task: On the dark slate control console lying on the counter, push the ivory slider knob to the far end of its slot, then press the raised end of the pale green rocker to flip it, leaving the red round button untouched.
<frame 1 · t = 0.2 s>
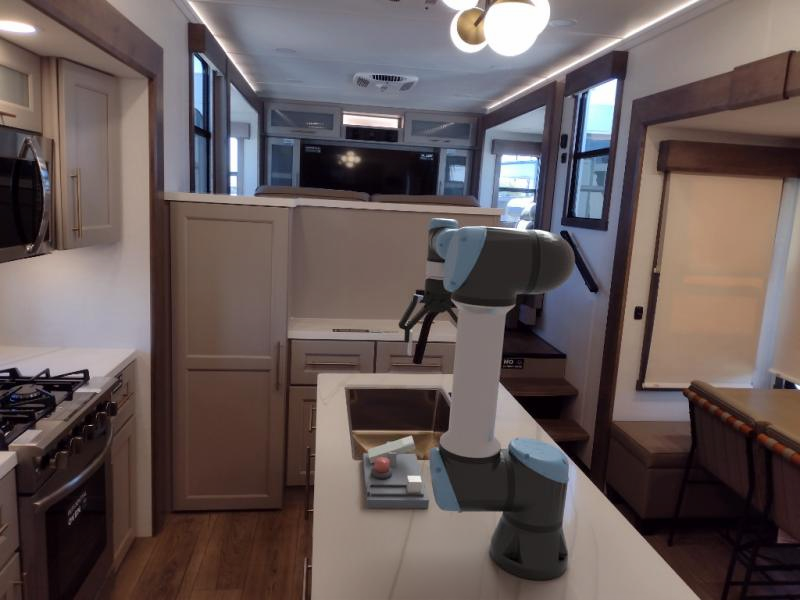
hand: (434, 355, 157), 28 cm above the worktop, fingers open, 13 cm apart
beverage can: (458, 465, 154), on the worktop
button: (381, 465, 141), point 5 cm above the worktop, slide at 0.0 cm
console: (393, 482, 142), on the worktop
slider knob: (414, 484, 134), point 4 cm above the worktop, slide at 0.0 cm
rocker: (391, 449, 149), point 5 cm above the worktop, hinge at -20.0°
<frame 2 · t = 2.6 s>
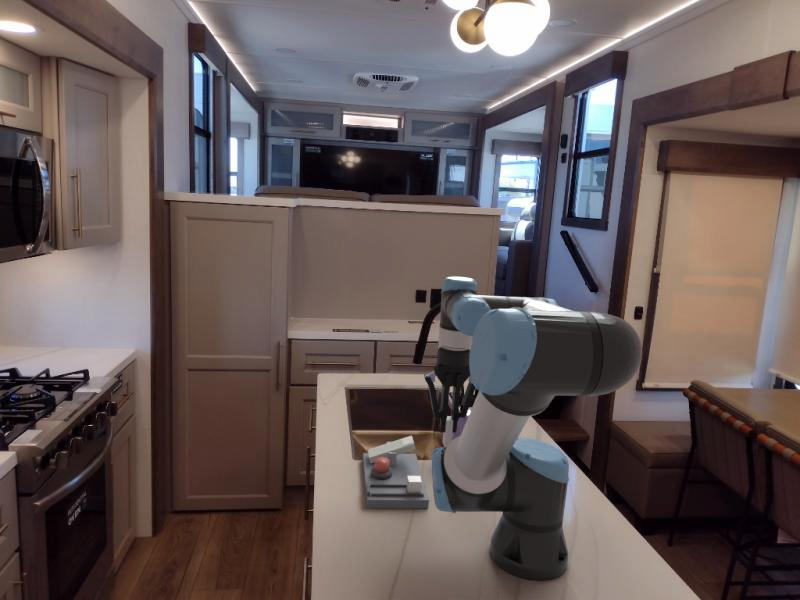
hand: (446, 444, 134), 13 cm above the worktop, fingers closed
nothing on the worktop moved.
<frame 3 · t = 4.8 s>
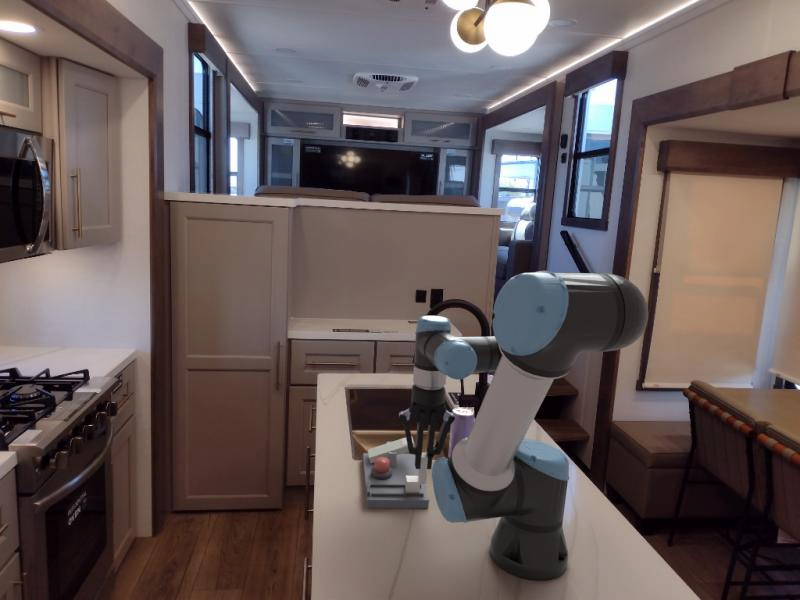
hand: (422, 481, 135), 4 cm above the worktop, fingers closed
slider knob: (412, 484, 134), point 4 cm above the worktop, slide at 0.4 cm, touching gripper
everything else where it was.
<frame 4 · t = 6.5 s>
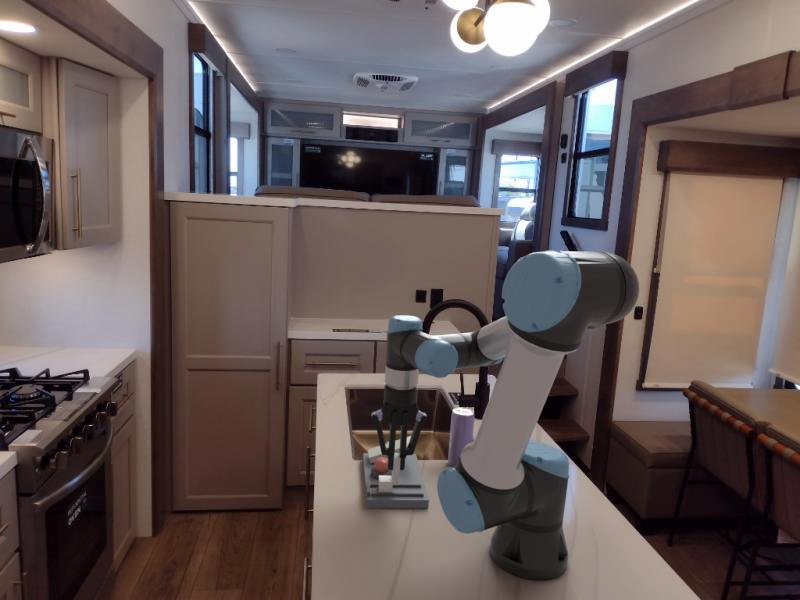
hand: (395, 482, 134), 4 cm above the worktop, fingers closed
slider knob: (385, 484, 134), point 4 cm above the worktop, slide at 6.7 cm, touching gripper
everything else where it was.
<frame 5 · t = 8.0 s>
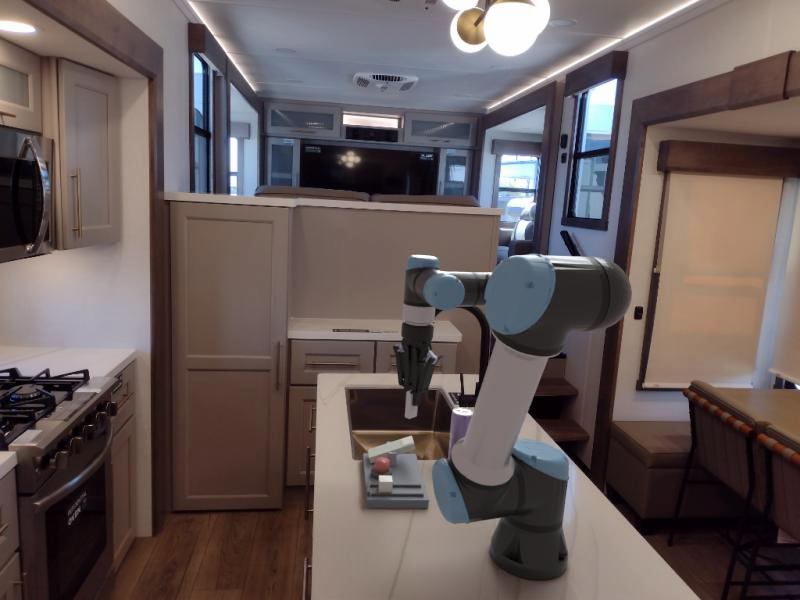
hand: (410, 416, 140), 17 cm above the worktop, fingers closed
slider knob: (385, 484, 134), point 4 cm above the worktop, slide at 6.7 cm
everything else where it was.
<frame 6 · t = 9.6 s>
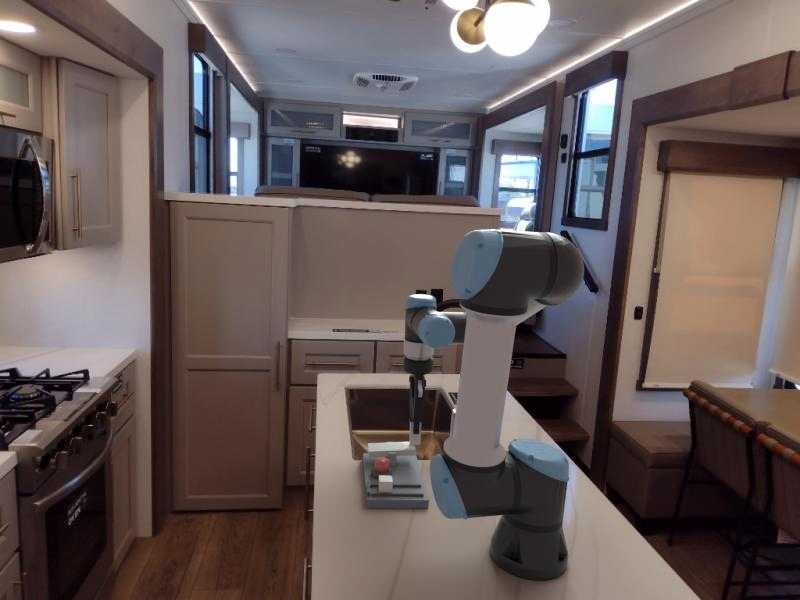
hand: (414, 443, 150), 7 cm above the worktop, fingers closed
rocker: (391, 449, 149), point 5 cm above the worktop, hinge at -3.5°, touching gripper
everything else where it was.
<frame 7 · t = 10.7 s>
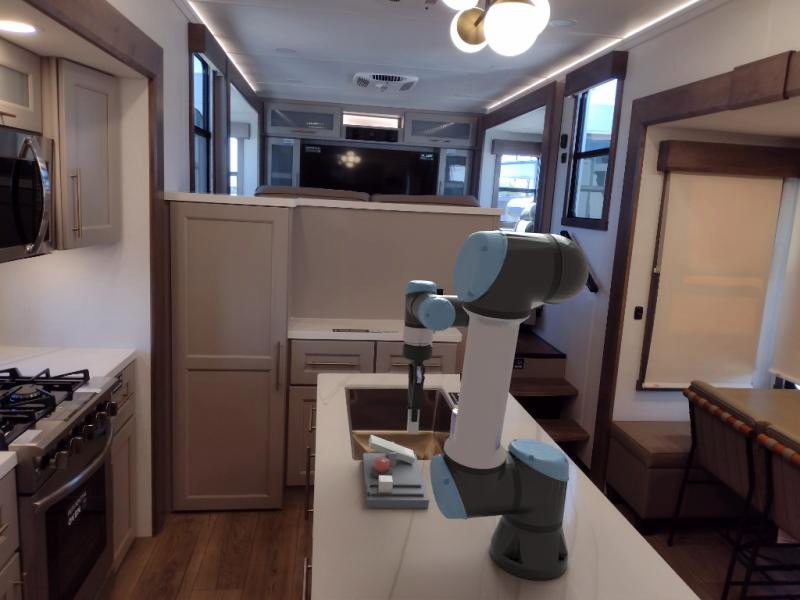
hand: (412, 432, 149), 10 cm above the worktop, fingers closed
rocker: (391, 449, 149), point 5 cm above the worktop, hinge at 20.3°
everything else where it was.
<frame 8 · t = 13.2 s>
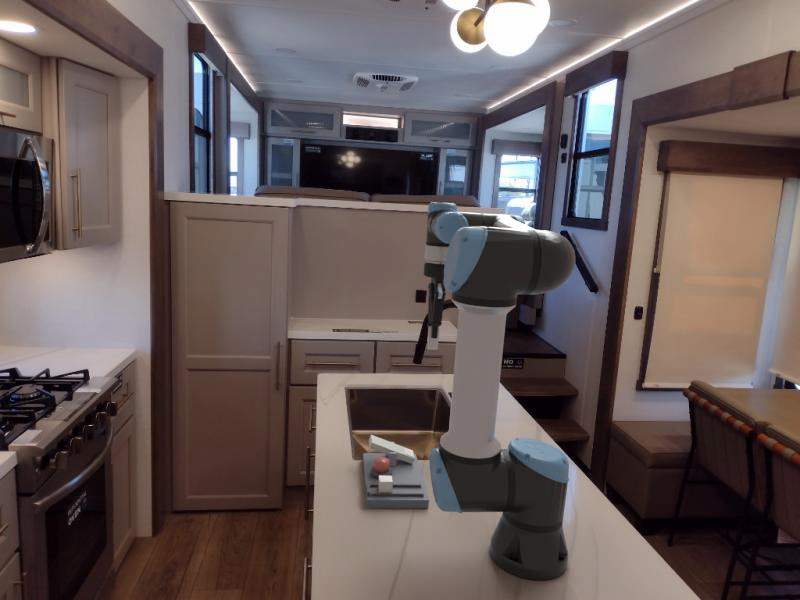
hand: (432, 348, 156), 29 cm above the worktop, fingers closed
nothing on the worktop moved.
at the end: slider knob slide at 6.7 cm; rocker at +20° (first picture: -20°); button slide at 0.0 cm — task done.
